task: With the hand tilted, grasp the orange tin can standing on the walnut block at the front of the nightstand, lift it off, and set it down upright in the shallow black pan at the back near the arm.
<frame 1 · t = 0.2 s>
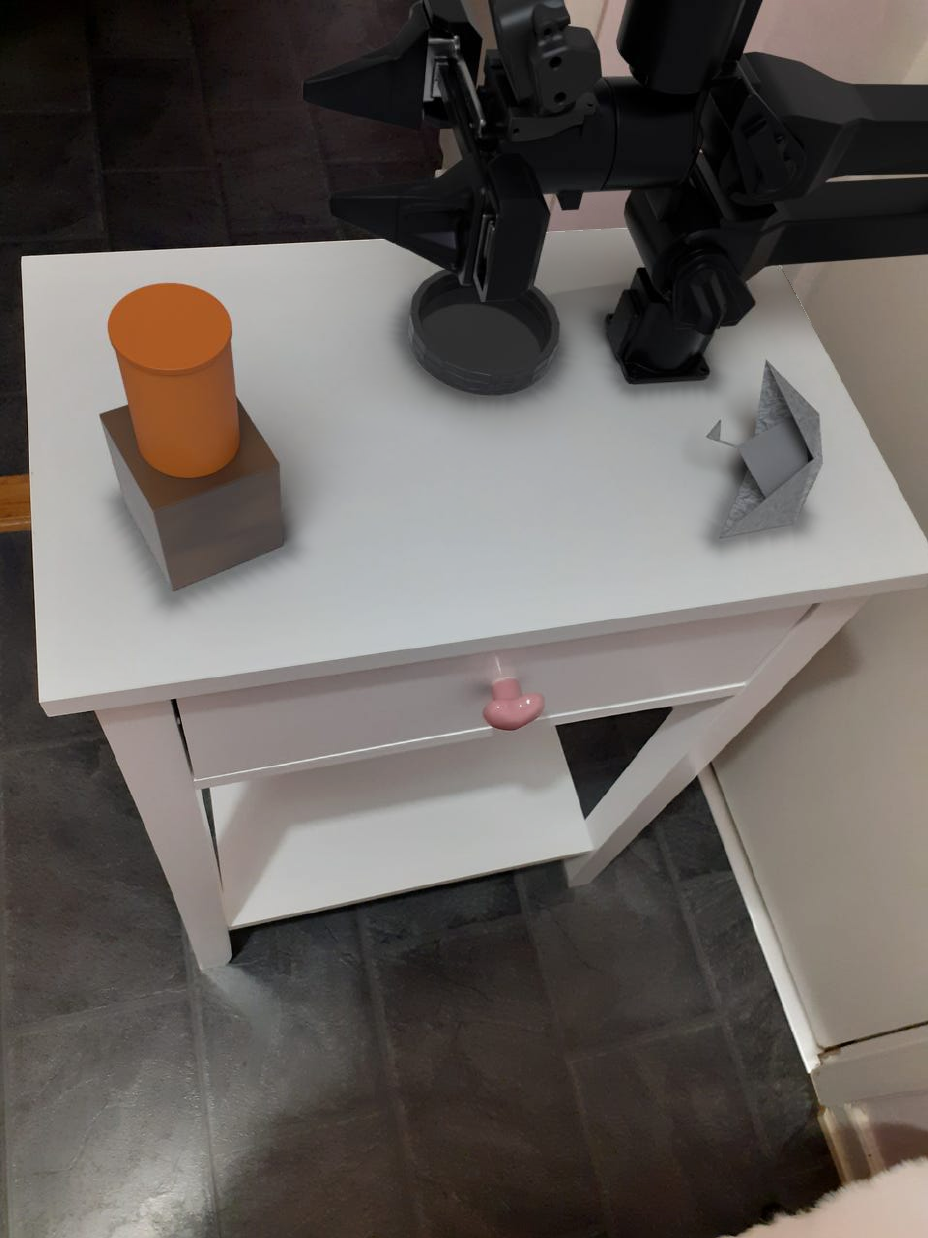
hand: (315, 144, 48), 17 cm above the table, tool horizontal, fingers open, 9 cm apart
pan: (481, 338, 67), on the table
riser: (203, 524, 56), on the table
orange tin can: (189, 438, 49), point 8 cm above the table, touching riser
paper boat: (745, 478, 64), on the table
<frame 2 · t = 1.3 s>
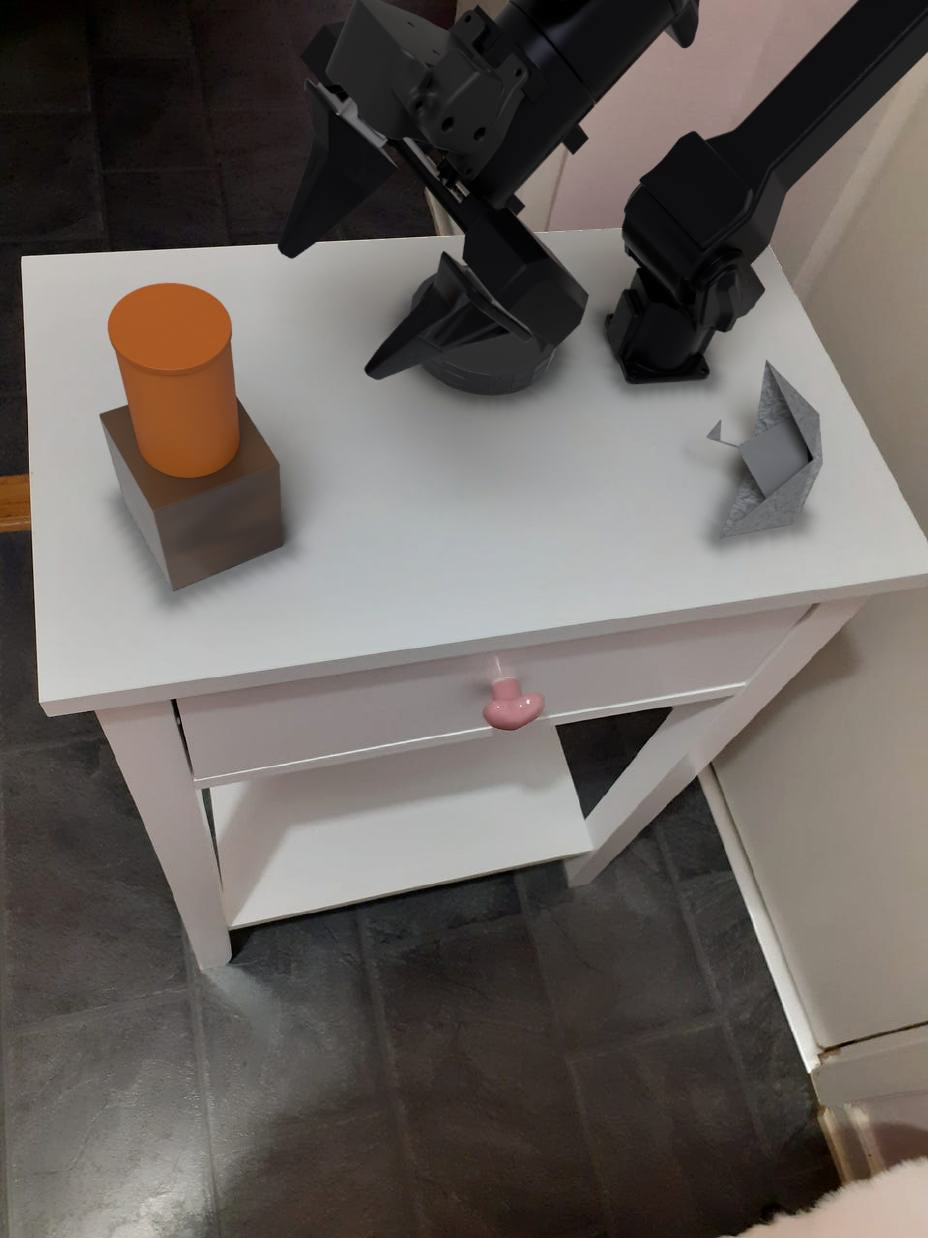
hand: (325, 312, 47), 14 cm above the table, tool tilted 45°, fingers open, 9 cm apart
nothing on the table moved.
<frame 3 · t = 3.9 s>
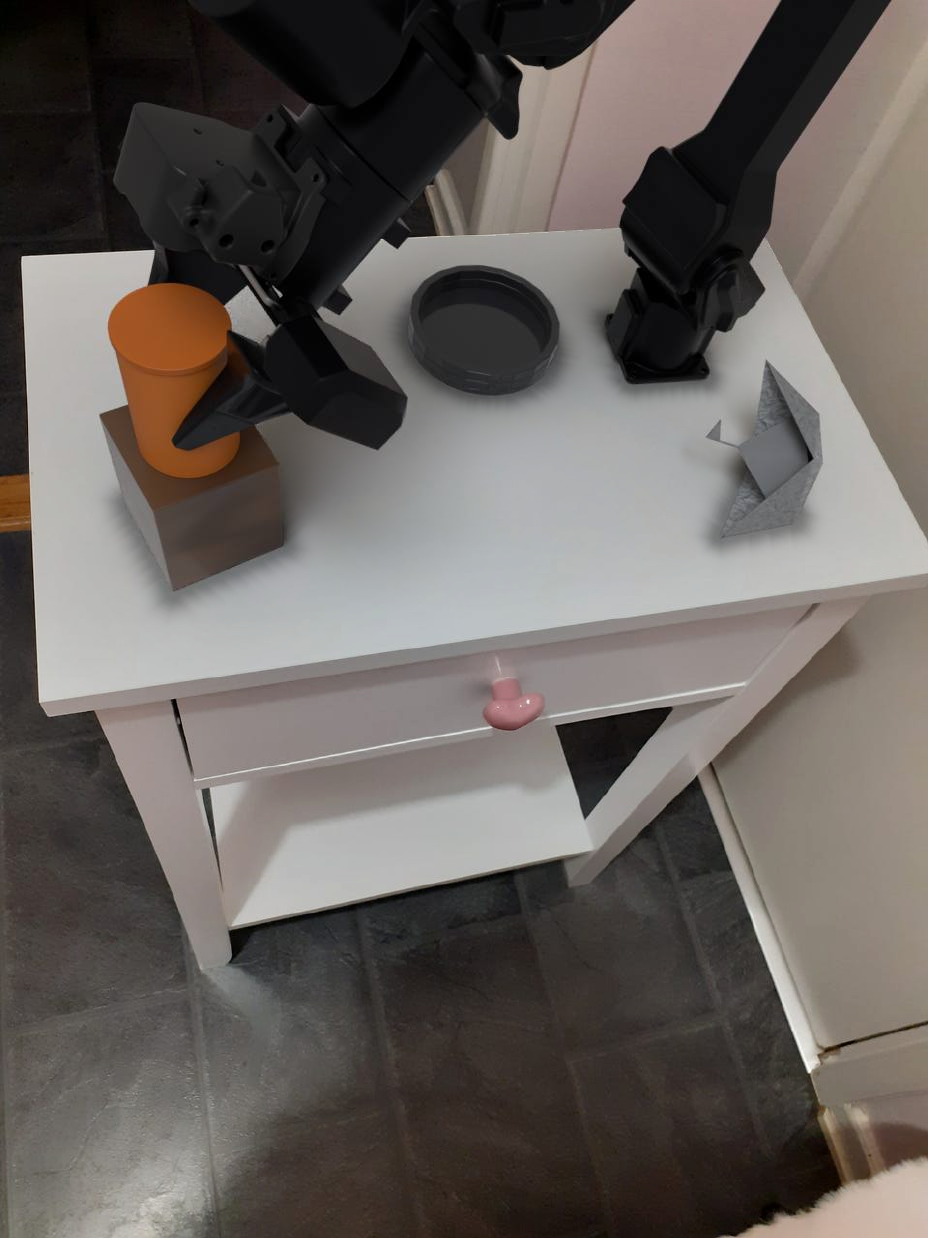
hand: (155, 406, 45), 11 cm above the table, tool tilted 45°, fingers closed on orange tin can, 5 cm apart
orange tin can: (189, 438, 49), point 8 cm above the table, touching gripper, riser
everything else where it was.
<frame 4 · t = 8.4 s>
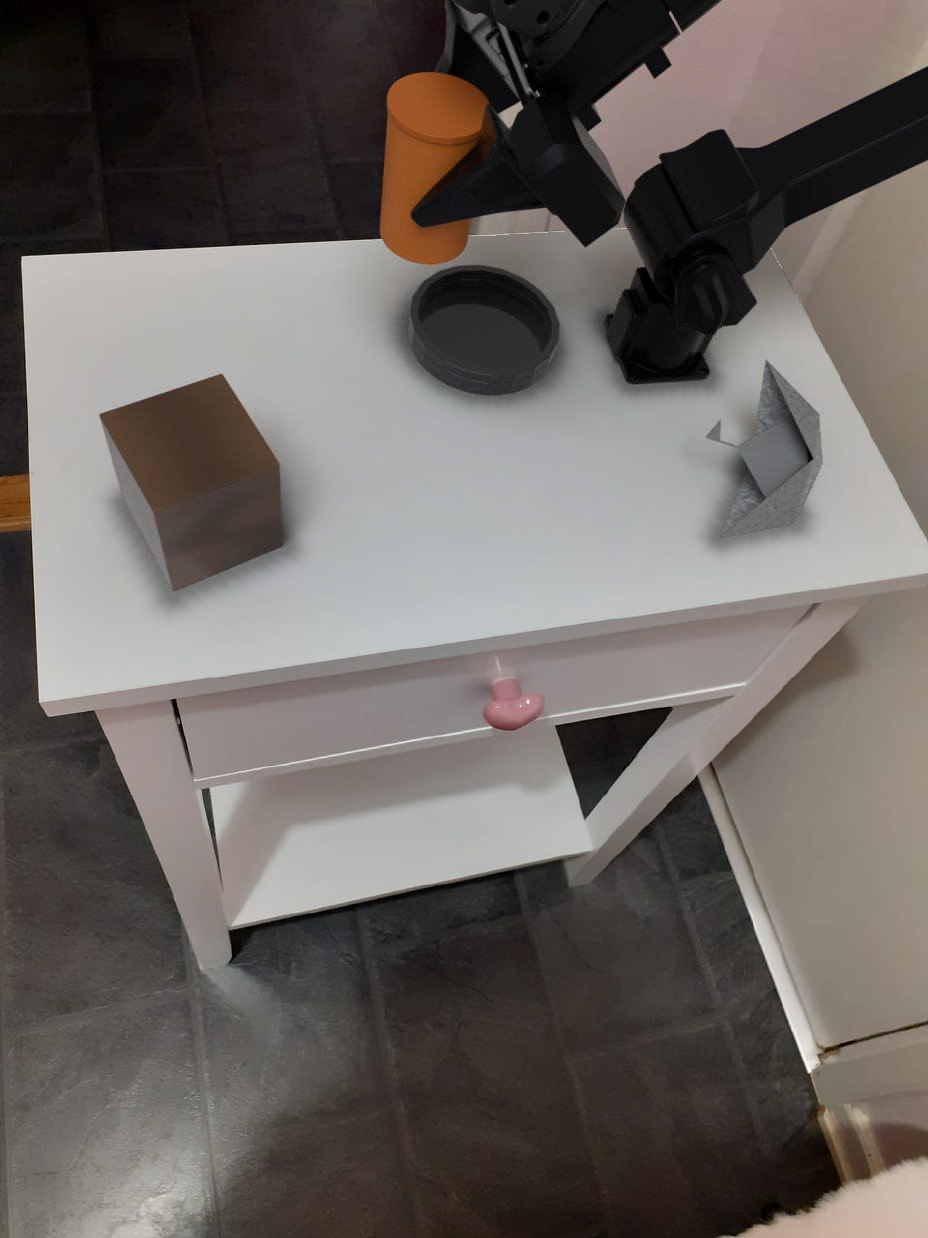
hand: (405, 186, 51), 14 cm above the table, tool tilted 45°, fingers closed on orange tin can, 5 cm apart
orange tin can: (423, 233, 54), point 11 cm above the table, touching gripper
everything else where it was.
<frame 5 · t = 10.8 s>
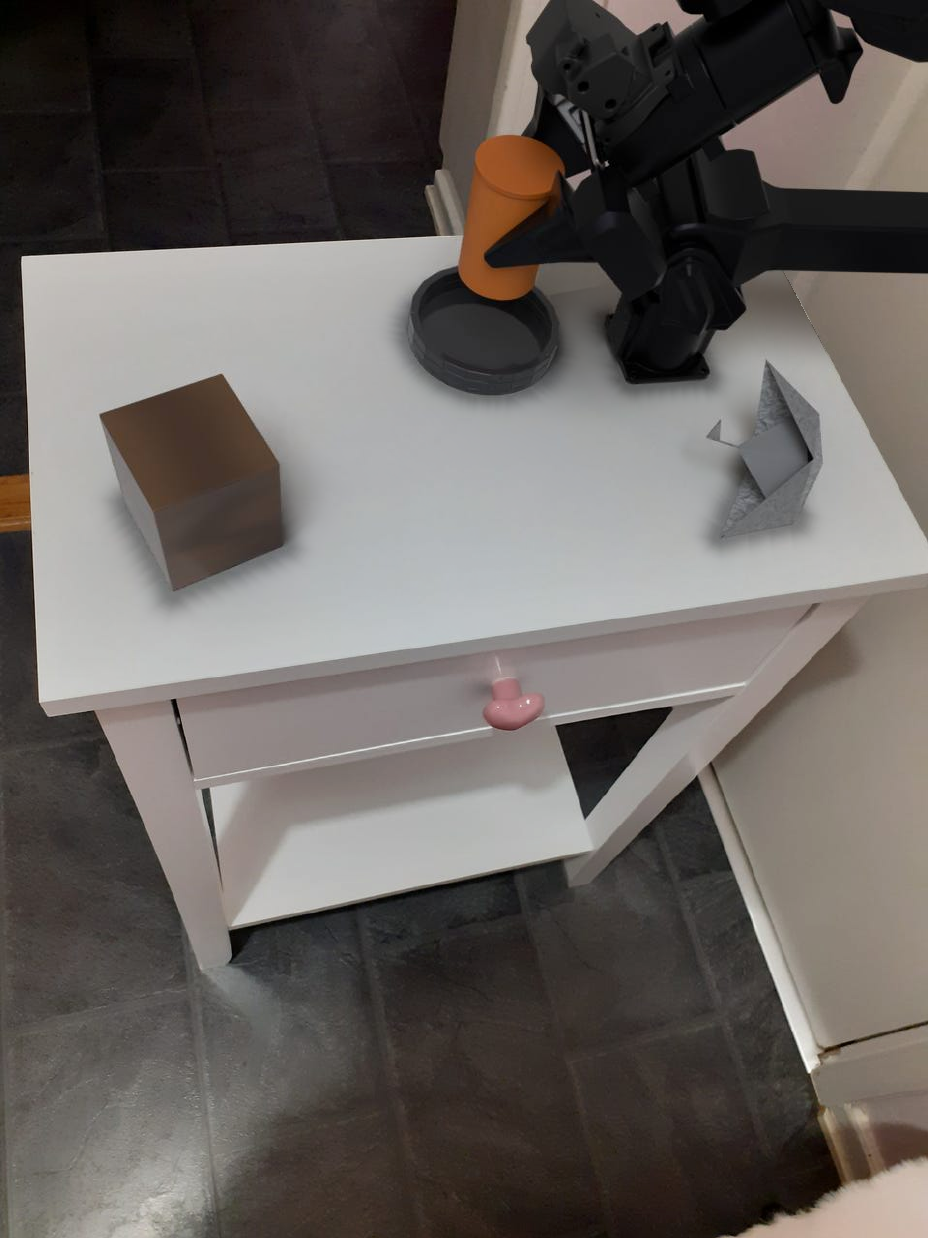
hand: (483, 230, 58), 9 cm above the table, tool tilted 45°, fingers closed on orange tin can, 5 cm apart
orange tin can: (496, 272, 61), point 6 cm above the table, touching gripper
everything else where it was.
when the fingers open (4 cm above the table, at t = 12.7 s): orange tin can stays where it is, resting on pan.
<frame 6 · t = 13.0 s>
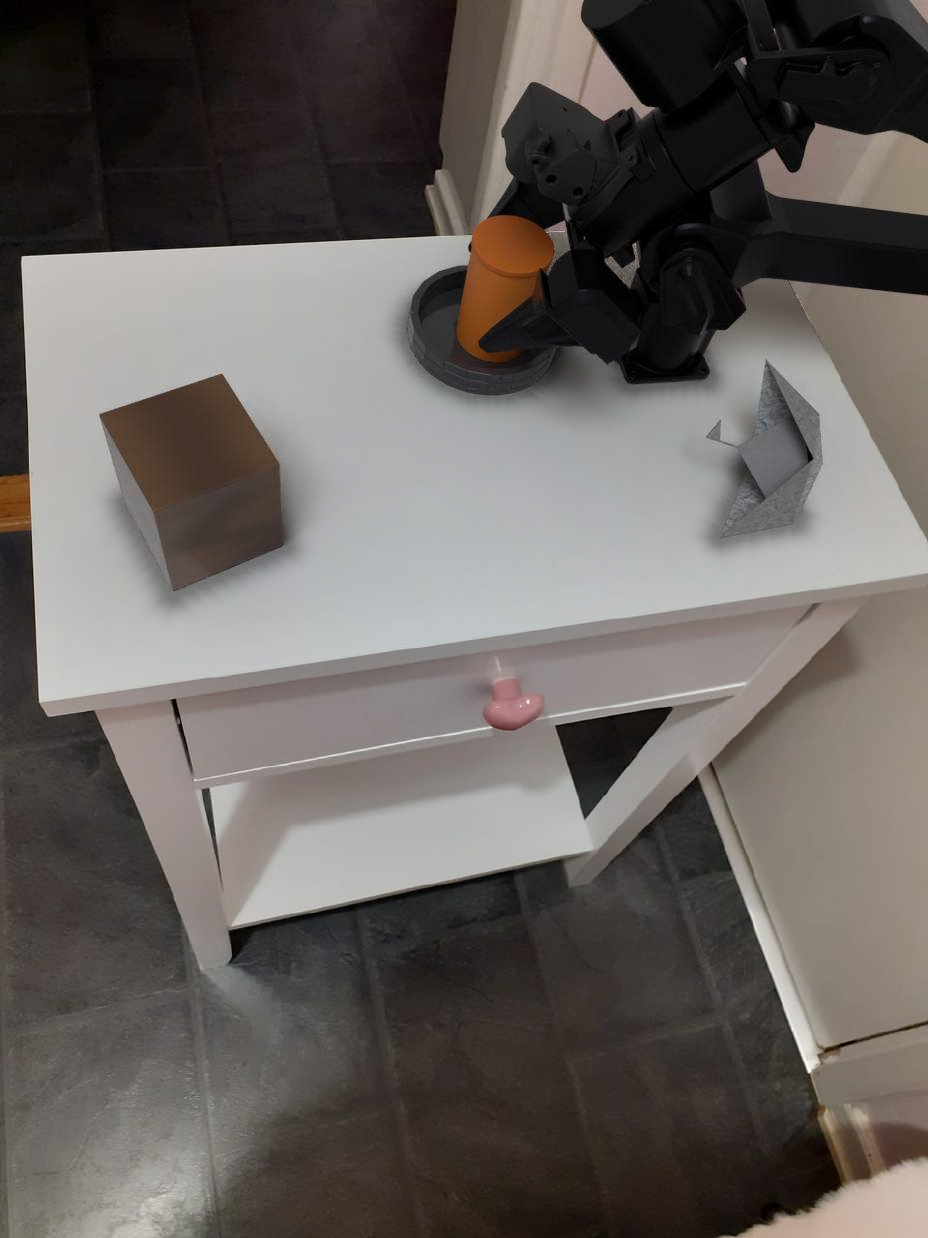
hand: (476, 298, 63), 4 cm above the table, tool tilted 40°, fingers open, 9 cm apart
orange tin can: (491, 335, 66), resting on pan
everything else where it was.
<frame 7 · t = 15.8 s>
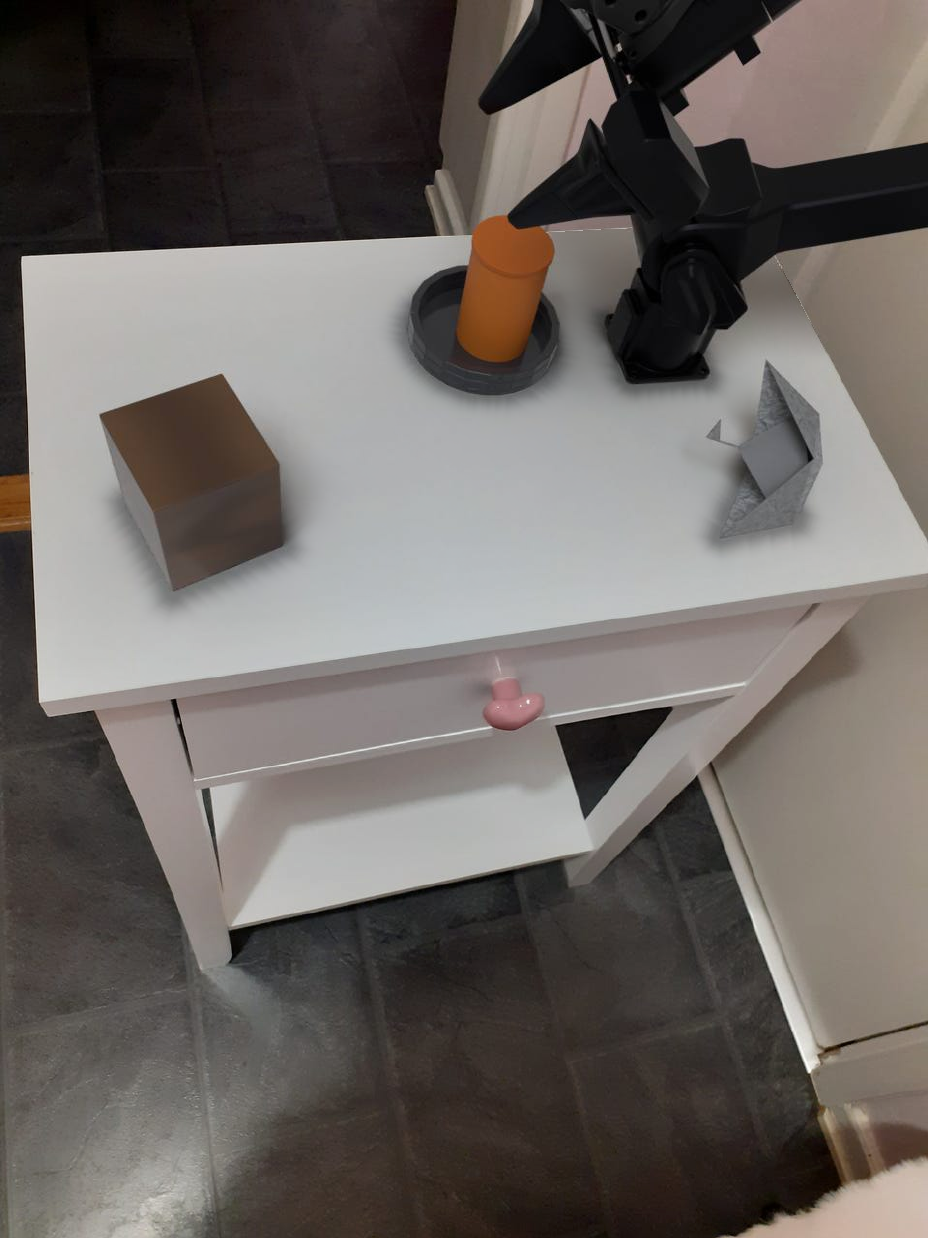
hand: (496, 163, 54), 14 cm above the table, tool tilted 40°, fingers open, 9 cm apart
nothing on the table moved.
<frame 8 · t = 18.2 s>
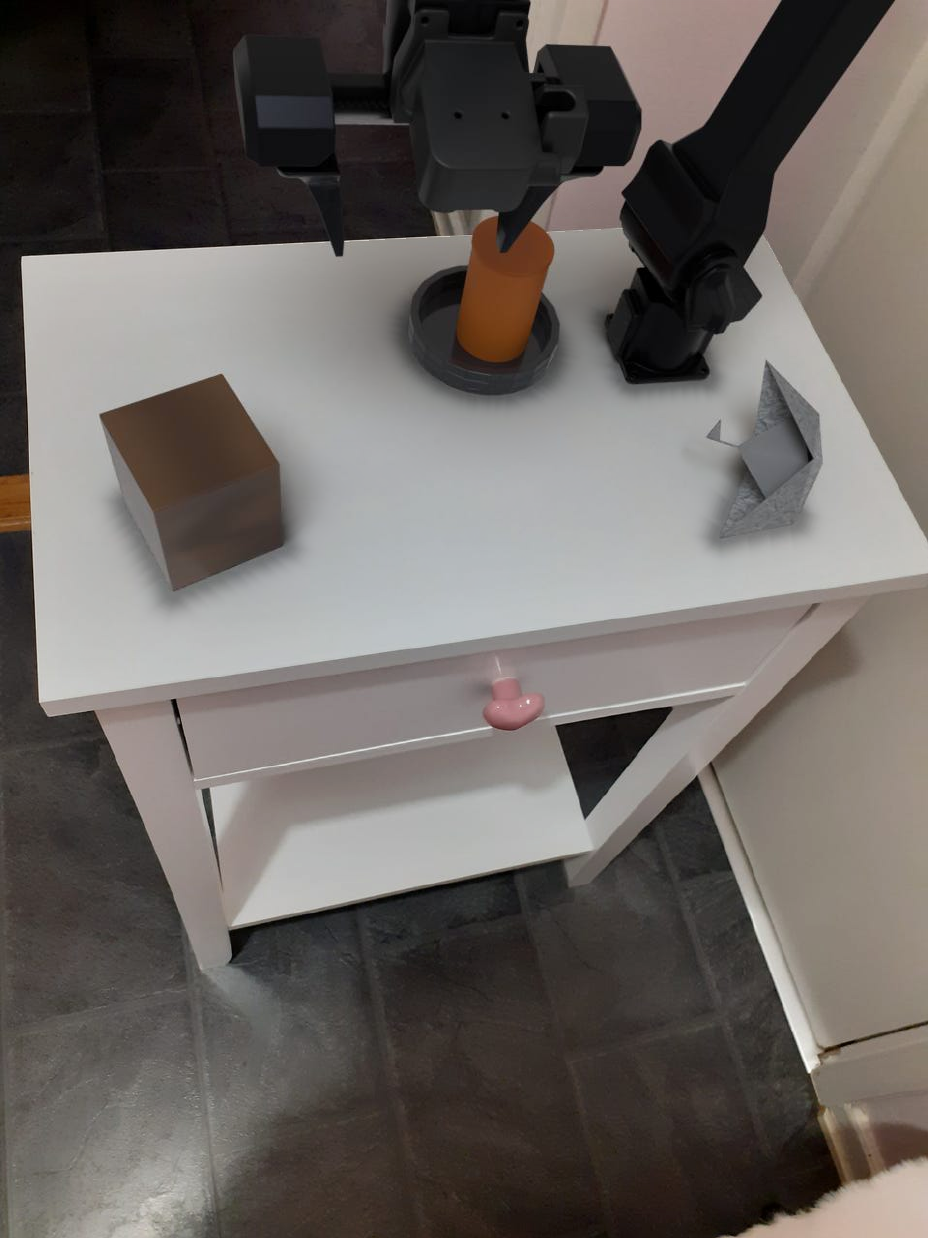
hand: (421, 249, 51), 13 cm above the table, tool pointing down, fingers open, 9 cm apart
nothing on the table moved.
at the end: orange tin can 0.7 cm off-centre in the pan, point 0.4 cm above the pan's base; orange tin can tilted 0°; the gripper is holding nothing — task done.
